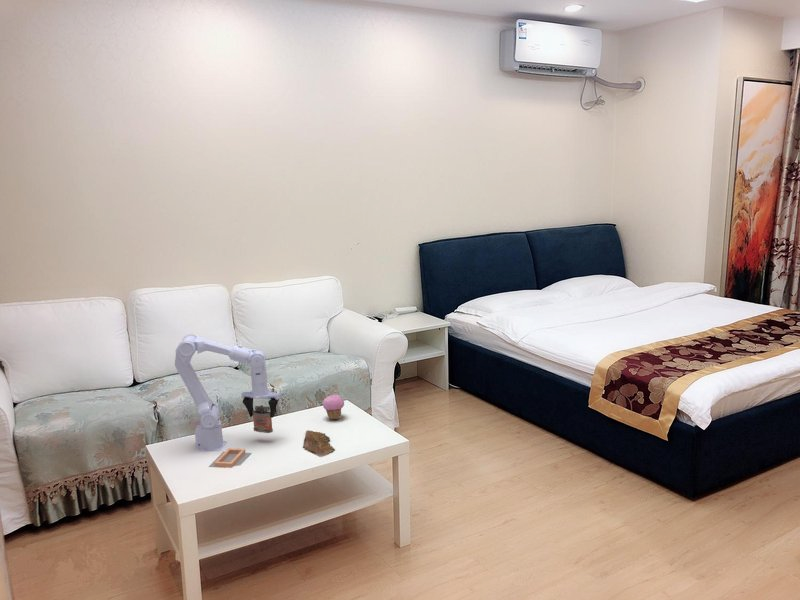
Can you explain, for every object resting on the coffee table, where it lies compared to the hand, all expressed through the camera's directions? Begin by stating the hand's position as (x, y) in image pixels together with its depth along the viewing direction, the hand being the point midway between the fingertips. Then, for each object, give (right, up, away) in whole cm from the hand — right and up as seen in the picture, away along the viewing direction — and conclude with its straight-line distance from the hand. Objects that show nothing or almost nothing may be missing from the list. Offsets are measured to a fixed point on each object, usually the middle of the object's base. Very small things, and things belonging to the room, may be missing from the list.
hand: (262, 416), depth 234 cm
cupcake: (+25, -5, +23) cm, 34 cm away
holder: (-8, -14, -13) cm, 21 cm away
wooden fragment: (+25, -11, +1) cm, 28 cm away
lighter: (0, -6, +1) cm, 6 cm away
